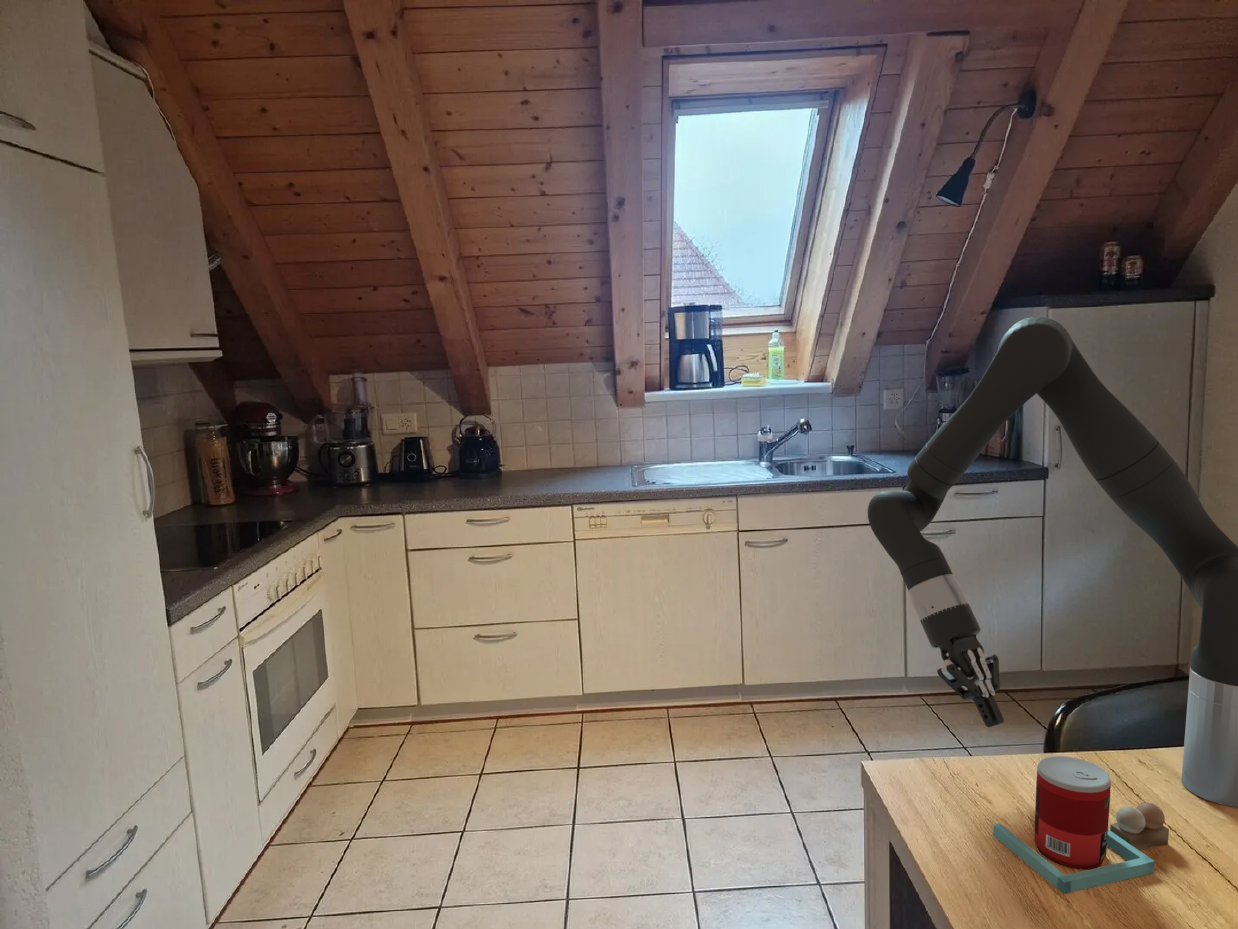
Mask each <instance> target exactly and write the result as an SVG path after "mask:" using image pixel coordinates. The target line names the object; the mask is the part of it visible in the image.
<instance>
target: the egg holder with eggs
mask: <svg viewBox="0 0 1238 929" xmlns="http://www.w3.org/2000/svg"><path fill="white" fill-rule="evenodd" d="M1165 819H1166V817H1165V813H1164V811H1163V810H1162V809H1161V808H1160V806H1158V805H1157V804H1155V803H1153V802H1149V801H1147V802H1142V803H1140V804H1138V805H1137V806H1136V807H1134V806H1126V805H1125V806H1122V807H1120V808H1119V809H1118V810H1117V811H1116V815H1115V821H1116V822H1115V823H1110V825H1109V826H1110V828H1109V830H1110V831H1112V832H1113V833H1114V834H1116V835H1117V836H1119V837H1120V838H1122V839H1123V840H1125V841H1126V842H1127V843H1129V844H1130V845H1132V846H1133V847H1135V848H1136V849H1138V850H1139V851H1141V850H1145V849H1146V850H1147V849H1150V848H1154V847H1158V846H1159V847H1160V846H1164V845H1167V844H1169V834H1170V829H1169V828H1168V827H1167V826H1165V825H1164V824H1165V821H1166V820H1165Z"/></svg>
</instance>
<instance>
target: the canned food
mask: <svg viewBox="0 0 1238 929" xmlns="http://www.w3.org/2000/svg"><path fill="white" fill-rule="evenodd" d="M1035 783H1036V784H1035V785H1036V787H1035V806H1034V807H1035V808H1034V809H1035V810H1034V828H1033V829H1034V835H1033V836H1034V837H1033V840H1034V843H1035V846H1036V847H1035V848H1036V849H1037V851H1038V853H1039V854H1041V856H1042V857H1043V858H1044V859H1045V858H1046V859H1047V860H1048V861H1050V862H1052V863H1054V864H1056V865H1058V866H1062V867H1064V868H1066V869H1072V870H1077V871H1078V870H1079V871H1086V870H1090V869H1095V868H1099V867H1102V865H1103V864H1104V861H1105V859H1106V857H1107V850H1108V849H1107V847H1108V846H1107V836H1108V829H1109V821H1110V820H1109V818H1110V817H1109V816H1110V807H1111V806H1110V803H1111V786H1112V785H1111V776H1110V773H1108V772H1107V771H1106V770H1105V768H1104V769H1103V767H1101V766H1099V765H1097V764H1095V763H1093V762H1090V761H1088V760H1085V759H1081V758H1077V757H1073V756H1064V755H1061V756H1060V755H1056V756H1055V755H1053V756H1046V757H1044V758H1042V759H1040V760H1039V761H1038V764H1037V770H1036V782H1035Z"/></svg>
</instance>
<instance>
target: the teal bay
mask: <svg viewBox="0 0 1238 929" xmlns="http://www.w3.org/2000/svg"><path fill="white" fill-rule="evenodd" d="M992 836H993V837H994V838H996V839H997V840H999V842H1001V843H1002V844H1003V845H1004V846H1006V847H1007V848H1008V849H1009V850H1010V851H1012V852H1013V853H1014V854H1015V855H1017V857H1019V858H1020V859H1021V860H1022V861H1023V862H1024V863H1026V864H1027V865H1028V866H1030V867H1031V868H1032V869H1033V870H1034V871H1035V872H1036V873H1038V875H1040V876H1041V877H1043V878H1044V879H1045V880H1046V881H1047V882H1048V883H1050V884H1051V885H1052V886H1053V887H1054V888H1055V889H1057V890H1058V891H1059V892H1061V894H1063V895H1066V894H1069V893H1073V892H1078V891H1082V890H1086V889H1090V888H1095V887H1100V886H1103V885H1108V884H1112V883H1116V882H1120V881H1121V882H1122V881H1125V880H1129V879H1133V878H1137V877H1141V876H1146V875H1150V874H1154V873H1155V864H1156V861H1155V860H1153V859H1152V858H1151V857H1149V856H1148V855H1147V854H1145V853H1143V852H1142V851H1141V850H1138V849H1136V848H1135V847H1133V846H1132V845H1130V844H1129V843H1127V842H1126V841H1125V840H1123V839H1122V838H1120V837H1119V836H1117V835H1116V834H1114V833H1113V832H1112V831H1110V828H1108V836H1107V847H1108V848H1110V849H1111V850H1113V851H1114V852H1115V853H1116V854H1117V855H1120V856H1121V857H1122V858H1124V859H1125V860H1126V861H1121V862H1118V863H1113V864H1110V865H1104V866H1099V867H1097V868H1095V869H1090V870H1081V871H1079V872H1074V873H1069V874H1064V873H1062V872H1061V871H1060V870H1059V869H1058V868H1056V867H1055V866H1054V865H1053V864H1051V863H1050V862H1049V860H1048V861H1047V860H1046V859H1045V857H1044V856H1042V855H1040V853H1039V852H1037V851H1035V850H1034V849H1032V847H1031V846H1029V845H1028V844H1026V843H1025V842H1024V841H1023V840H1021V839H1020V838H1019V837H1018V836H1017V835H1016V834H1014V833H1013V832H1012V831H1011V830H1009V829H1008V828H1007V827H1006V826H1004V825H1003V824H1002V823H1000V822H999V823H994V824H993V828H992Z"/></svg>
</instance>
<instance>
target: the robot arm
mask: <svg viewBox="0 0 1238 929" xmlns="http://www.w3.org/2000/svg"><path fill="white" fill-rule="evenodd" d="M990 361H991V362H990V364H989V365H988V367H987V368H986V370H985V372H984V373H983V375H982V377H981V379H980V380H979V381H978V383H977V385H976V386H975V388H973V390H972V392H971V393H970V395H968V396H967V398H966V399H965V400H964V402H963V403H962V404H961V405H960V406H959V407H958V408H957V410H955V412H953V414H952V415H951V416H950V417H949V418H948V419H947V420H946V421H945V422H943V424H942V425H941V426H940V427H939V428H938V429H937V430H936V431H935V433H933V435H932V436H931V437H930V439H929V440H928V441H927V442H926V443H925V445H924V446H923V447H922V449H921V450H920V451H919V452H918V453H917V455H916V456H915V457H914V458H913V459H912V461H911V462H910V463H909V466H908V467H907V472H906V473H907V476H908V479H909V482H908V483H907V485H906V486H905V488H904V489H903V490H901V491H895V490H886V491H881V492H878V493H876V494H875V495H874V496H873V497H872V498H871V499H870V501H869V503H868V507H867V520H868V524H869V526H870V528H871V530H872V533H873V535H874V536H875V537H876V540H878V542H879V543H880V545H881V546H882V547H883V549H884V551H885V552H886V553H887V554H888V557H890V558H891V560H892V561H893V562H894V563H895V565H896V566H897V568H898V570H899V574H900V575H901V576H902V579H903V581H904V584H905V586H906V588H907V591H908V594H909V595H910V599H911V603H912V606H913V608H914V610H915V613H916V615H917V617H918V620H919V622H920V624H921V626H922V629H923V631H924V633H925V635H926V638H927V640H928V642H929V644H930V646H931V647H932V648H934V649H940V656H941V659H942V661H943V665H942V667H940V668H938V669H937V670H936V672H937V675H938V676H939V677H940V678H941V679H942V680H943V681H944V682H945V683H946V684H947V685H948V686H949V687H950V688H951V689H952V690H953V691H954V692H955V693H956V694H957V695H958V696H959V697H960V698H961V699H962V700H964V701H966V700H970V702H972V703H974V704H975V705H976V708H977V711H978V713H979V715H980V716H981V719H982V721H983V723H984V724H985V726H986V727H987V728H991V727H995V726H998V725H1001V724H1003V723H1005V718H1004V717H1003V714H1002V712H1001V710H1000V708H999V705H998V704H997V701H996V699H995V697H994V696H996V692H997V691H999V690H1000V686H1001V685H1000V684H1001V683H1000V682H1001V681H1000V662H999V661H1000V660H999V657H998V656H997V655H996V654H992V655H989V654H987V653H986V652H985V649H984V647H983V645H982V643H981V642H979V640H978V638H977V635H978V634H980V633H981V626H980V624H979V622H978V620H977V618H976V615H975V614H974V612H973V610H972V608H971V605H970V603H969V601H968V599H967V597H966V594H965V593H964V591H963V589H962V586H961V585H960V583H959V582H958V581H957V579H956V578H955V576H954V574H953V572H952V569H951V567H950V566H949V563H948V561H947V558H946V557H945V554H944V552H943V551H942V550H941V548H940V547H939V546H938V544H936V543H934V542H933V541H931V540H930V541H929V540H928V539H926V538H925V537H924V536H923V534H922V533H921V532H922V531H924V530H925V529H926V528H927V527H928V526H929V525H930V524H931V523H932V521H933V520H934V518H935V517H936V515H937V514H938V512H939V510H940V508H941V506H942V504H943V502H944V500H945V498H946V496H947V494H948V492H949V491H950V489H952V488H953V487H954V485H955V484H956V483H957V482H958V480H960V478H961V477H963V475H964V474H965V473H966V472H967V470H968V469H969V468H970V467H971V465H972V464H973V463H974V462H975V460H976V459H977V458H978V457H979V455H980V454H981V453H982V452H983V450H984V449H985V448H986V446H987V445H988V444H989V443H990V442H991V440H992V439H993V438H994V436H996V434H997V432H999V430H1000V429H1001V428H1002V426H1004V424H1006V423H1007V421H1008V420H1009V419H1010V418H1011V417H1012V416H1013V415H1014V414H1015V413H1016V412H1017V411H1018V410H1020V408H1021V407H1022V406H1024V405H1025V404H1026V403H1027V402H1028V401H1029V400H1030V399H1031V398H1033V397H1034V396H1035V395H1037V396H1039V398H1040V399H1041V400H1042V401H1043V402H1044V403H1045V405H1046V406H1048V407H1049V409H1050V410H1051V411H1052V412H1053V414H1054V415H1055V416H1056V418H1057V419H1058V421H1059V423H1060V424H1061V426H1062V428H1063V430H1064V432H1065V433H1066V435H1067V437H1068V439H1069V440H1070V443H1071V445H1072V446H1073V449H1075V451H1076V453H1077V455H1078V457H1079V458H1080V460H1081V461H1082V463H1083V464H1084V466H1085V468H1086V469H1087V471H1088V472H1089V473H1090V475H1091V476H1092V478H1093V479H1094V480H1095V481H1096V483H1098V485H1099V486H1100V488H1102V490H1103V491H1104V492H1105V494H1106V495H1108V497H1109V499H1111V500H1112V501H1113V503H1114V504H1115V505H1116V506H1117V507H1118V508H1119V509H1120V510H1121V511H1122V512H1123V513H1124V514H1125V515H1126V516H1127V517H1128V518H1129V519H1130V520H1131V521H1132V522H1133V523H1134V524H1135V525H1136V526H1137V527H1138V528H1139V529H1141V530H1142V531H1143V532H1144V533H1145V534H1146V535H1148V537H1150V538H1151V539H1152V540H1153V541H1154V542H1155V543H1156V544H1157V545H1158V546H1159V547H1160V549H1161V550H1162V551H1163V553H1164V554H1165V555H1166V557H1167V558H1168V559H1169V561H1170V563H1171V564H1172V566H1173V567H1174V568H1175V570H1176V571H1177V573H1178V574H1179V576H1180V577H1181V579H1182V580H1183V582H1184V583H1185V585H1186V587H1187V588H1188V590H1189V591H1190V593H1191V595H1192V597H1193V599H1194V601H1195V603H1197V605H1198V606H1199V607H1200V608H1201V621H1200V629H1199V637H1198V638H1199V639H1198V644H1197V645H1195V646H1194V647H1193V648H1192V650H1191V652H1190V653H1191V654H1190V663H1189V664H1190V665H1189V675H1188V677H1189V678H1188V690H1187V692H1188V693H1187V702H1186V703H1187V704H1186V705H1187V706H1186V718H1185V730H1184V744H1183V754H1182V769H1181V784H1182V785H1183V786H1184V787H1185V788H1186V789H1187V790H1188V791H1189V792H1191V793H1193V794H1194V795H1196V796H1198V797H1199V798H1202V799H1204V800H1206V801H1209V802H1213V803H1216V804H1219V805H1224V806H1227V807H1228V806H1230V807H1235V808H1237V807H1238V545H1237V544H1235V542H1234V541H1232V539H1231V538H1229V536H1227V534H1226V533H1225V532H1224V531H1223V530H1222V529H1221V528H1220V527H1219V526H1218V525H1217V524H1216V523H1215V522H1214V521H1213V520H1212V518H1211V517H1210V515H1209V514H1208V513H1207V510H1206V509H1205V508H1204V506H1203V504H1202V502H1201V501H1200V499H1199V497H1198V495H1197V494H1196V491H1195V490H1194V488H1193V486H1192V484H1191V483H1190V481H1189V479H1188V478H1187V476H1186V475H1185V473H1184V472H1183V470H1182V469H1181V467H1180V466H1179V465H1178V463H1177V462H1176V461H1175V459H1174V458H1173V457H1172V456H1171V455H1170V453H1168V451H1167V450H1166V448H1164V446H1163V445H1162V443H1160V441H1159V440H1158V439H1157V438H1156V437H1155V435H1153V434H1152V432H1150V430H1148V429H1147V427H1146V426H1145V425H1144V424H1143V423H1142V422H1141V420H1139V419H1138V418H1137V417H1136V415H1134V414H1133V413H1132V412H1131V410H1130V409H1128V407H1126V405H1124V404H1123V403H1122V401H1120V400H1119V399H1118V398H1117V397H1116V396H1115V395H1114V394H1113V393H1112V392H1111V391H1110V390H1109V389H1108V388H1107V387H1106V386H1105V385H1104V384H1103V383H1102V381H1101V380H1100V379H1099V378H1098V376H1097V375H1096V374H1095V372H1094V371H1093V369H1092V367H1091V366H1090V365H1089V364H1088V362H1087V361H1086V359H1085V358H1084V356H1083V355H1082V353H1081V352H1080V350H1079V349H1078V347H1077V345H1076V344H1075V342H1074V340H1073V339H1072V337H1071V335H1070V333H1069V332H1068V330H1067V329H1066V328H1065V326H1063V324H1061V323H1059V322H1058V321H1056V320H1054V319H1051V318H1048V317H1045V316H1031V317H1026V318H1023V319H1021V320H1019V321H1017V322H1015V323H1014V324H1013V325H1012V326H1011V327H1010V328H1009V329H1008V330H1007V331H1006V332H1005V333H1004V334H1003V336H1002V338H1001V339H1000V341H999V344H998V347H997V351H996V353H995V355H994V356H993V358H992V360H990Z"/></svg>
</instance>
